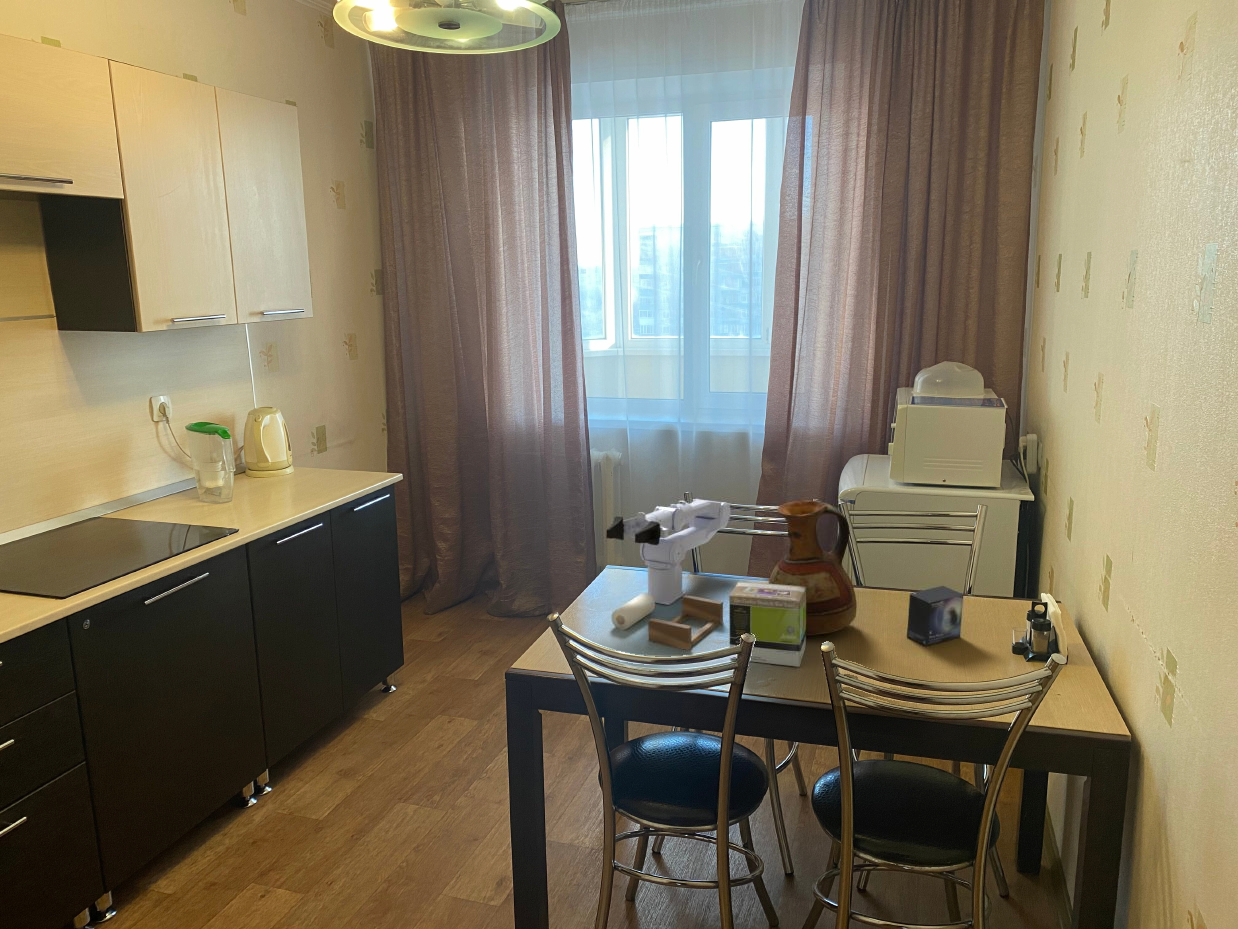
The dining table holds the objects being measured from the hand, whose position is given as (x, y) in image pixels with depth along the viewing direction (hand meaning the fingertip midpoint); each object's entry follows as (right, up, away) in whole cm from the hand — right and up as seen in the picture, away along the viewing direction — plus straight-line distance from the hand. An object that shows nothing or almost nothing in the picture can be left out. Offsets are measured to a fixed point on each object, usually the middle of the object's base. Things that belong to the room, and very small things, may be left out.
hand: (621, 536), depth 207 cm
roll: (+3, -18, +6) cm, 20 cm away
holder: (+15, -22, 0) cm, 26 cm away
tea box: (+31, -25, -13) cm, 42 cm away
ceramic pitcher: (+44, -21, +1) cm, 49 cm away
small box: (+70, -22, -7) cm, 73 cm away
